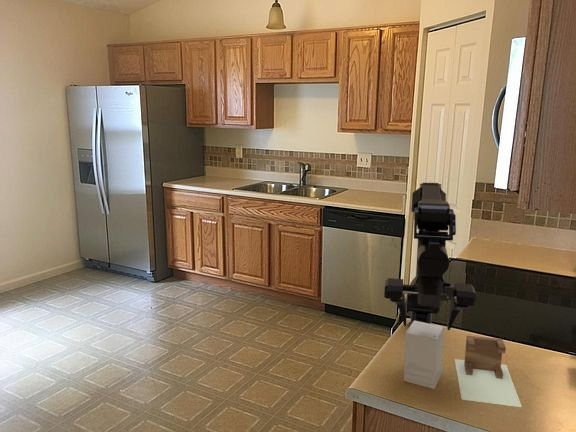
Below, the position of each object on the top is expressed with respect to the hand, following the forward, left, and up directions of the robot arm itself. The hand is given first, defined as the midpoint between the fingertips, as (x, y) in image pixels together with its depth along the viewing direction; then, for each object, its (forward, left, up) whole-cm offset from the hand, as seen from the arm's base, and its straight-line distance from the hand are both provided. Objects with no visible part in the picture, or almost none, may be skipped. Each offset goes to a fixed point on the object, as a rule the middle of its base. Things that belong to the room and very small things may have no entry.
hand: (426, 327), depth 103 cm
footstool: (-9, +14, -14) cm, 22 cm away
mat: (-5, +14, -15) cm, 21 cm away
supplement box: (-3, 0, -15) cm, 15 cm away
